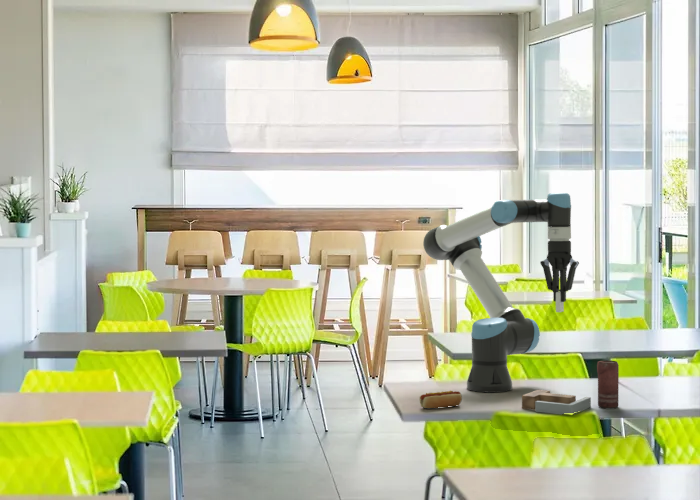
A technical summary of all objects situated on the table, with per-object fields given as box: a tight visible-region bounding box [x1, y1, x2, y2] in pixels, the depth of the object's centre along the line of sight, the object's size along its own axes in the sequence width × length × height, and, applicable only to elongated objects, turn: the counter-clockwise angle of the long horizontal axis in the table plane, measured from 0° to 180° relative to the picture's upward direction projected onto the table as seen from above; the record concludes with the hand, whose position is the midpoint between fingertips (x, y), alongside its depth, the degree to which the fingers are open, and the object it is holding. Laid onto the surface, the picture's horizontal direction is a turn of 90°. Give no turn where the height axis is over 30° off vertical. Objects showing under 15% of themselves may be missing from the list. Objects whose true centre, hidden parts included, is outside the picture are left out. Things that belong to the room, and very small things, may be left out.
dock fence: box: [534, 396, 592, 415], centre depth 322 cm, size 12×15×3 cm
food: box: [419, 390, 463, 409], centre depth 327 cm, size 14×6×5 cm, turn 116°
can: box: [596, 359, 620, 409], centre depth 325 cm, size 6×6×14 cm
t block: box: [521, 389, 577, 411], centre depth 326 cm, size 14×12×4 cm
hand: (559, 311), depth 351 cm, fingers closed
